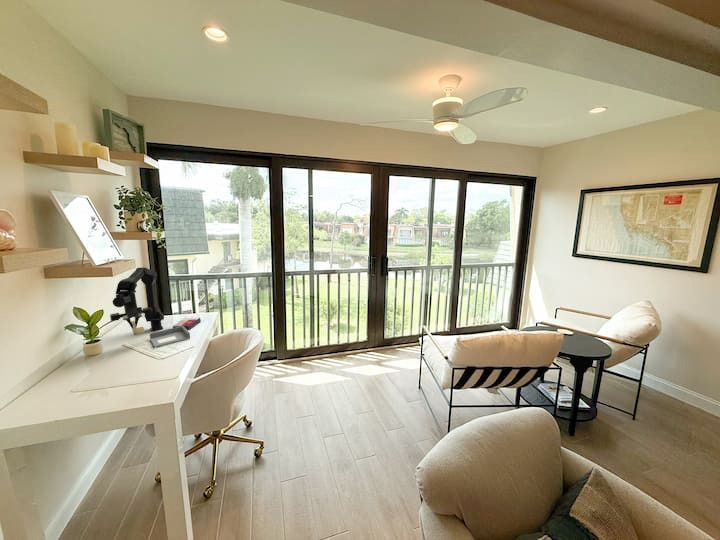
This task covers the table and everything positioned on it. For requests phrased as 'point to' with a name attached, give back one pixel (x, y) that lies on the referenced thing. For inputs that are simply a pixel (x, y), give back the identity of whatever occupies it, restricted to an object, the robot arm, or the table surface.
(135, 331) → the bracket
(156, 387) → the table surface
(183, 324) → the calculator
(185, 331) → the arena
